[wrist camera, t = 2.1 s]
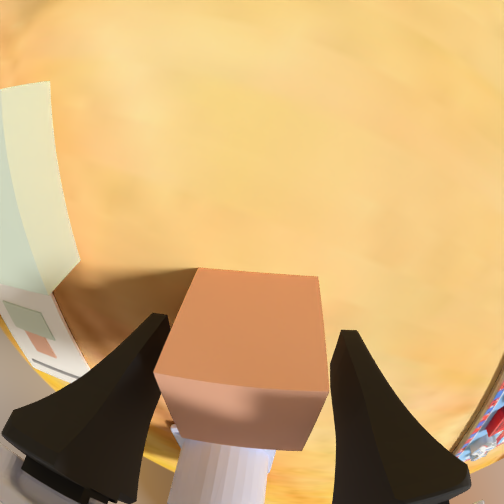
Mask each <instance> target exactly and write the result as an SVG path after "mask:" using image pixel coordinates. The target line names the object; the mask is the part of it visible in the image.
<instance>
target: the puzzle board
mask: <svg viewBox="0 0 504 504" xmlns="http://www.w3.org/2000/svg"><path fill="white" fill-rule="evenodd" d="M503 443H504V366H503V368H502V370H501V372H500V374H499V376H498V379H497V381H496V383H495V384H494V386H493V388H492V390H491V392H490V394H489V396H488V398H487V400H486V401H485V403H484V405H483V407H482V408H481V410H480V412H479V413H478V415H477V417H476V418H475V420H474V422H473V423H472V425H471V426H470V428H469V429H468V431H467V433H466V434H465V435H464V437H463V438H462V440H461V441H460V443H459V444H458V446H457V447H456V448H455V450H454V451H453V453H452V454H453V455H455V456H456V457H457V458H459V459H460V460H461V461H463V462H465V461H467V460H470V459H471V461H475V460H477V459H479V458H481V457H484V456H486V455H487V453H488V452H489V451H490V450H492V449H493V448H495V447H497V446H499V445H501V444H503Z"/></svg>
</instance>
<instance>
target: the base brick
mask: <svg viewBox="0 0 504 504" xmlns="http://www.w3.org/2000/svg"><path fill="white" fill-rule="evenodd" d="M80 261H81V260H80V257H79V254H78V250H77V247H76V243H75V240H74V236H73V232H72V228H71V225H70V221H69V216H68V212H67V208H66V204H65V199H64V194H63V189H62V184H61V179H60V173H59V167H58V161H57V155H56V148H55V140H54V131H53V122H52V110H51V94H50V81H44V82H37V83H31V84H25V85H19V86H14V87H9V88H4V89H0V284H4V285H7V286H11V287H15V288H19V289H23V290H27V291H31V292H35V293H39V294H43V295H48V296H49V295H50V294H51V293H52V292H53V290H54V289H55V288H56V287H57V286H58V285H59V284H60V282H61V281H62V280H63V279H64V278H65V277H66V276H67V275H68V274H69V273H70V271H71V270H72V269H73V268H74V267H75V266H76V265H77V264H78V263H79V262H80Z"/></svg>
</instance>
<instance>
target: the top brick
mask: <svg viewBox="0 0 504 504" xmlns="http://www.w3.org/2000/svg"><path fill="white" fill-rule="evenodd" d="M153 373H154V376H155V378H156V381H157V383H158V386H159V388H160V391H161V393H162V395H163V398H164V400H165V402H166V405H167V407H168V409H169V412H170V414H171V416H172V418H173V420H174V423H175V425H176V427H177V429H178V431H179V433H180V435H181V437H182V438H186V439H192V440H197V441H202V442H208V443H215V444H221V445H229V446H237V447H245V448H256V449H268V450H286V451H302V450H303V448H304V446H305V444H306V442H307V440H308V437H309V435H310V433H311V431H312V429H313V427H314V425H315V423H316V421H317V418H318V416H319V414H320V412H321V409H322V407H323V405H324V403H325V400H326V398H327V396H328V393H329V379H328V366H327V354H326V343H325V333H324V323H323V314H322V305H321V296H320V288H319V280H318V277H315V276H300V275H286V274H272V273H258V272H245V271H233V270H220V269H208V268H198V269H197V271H196V274H195V276H194V278H193V280H192V283H191V285H190V287H189V289H188V291H187V294H186V296H185V298H184V301H183V303H182V305H181V307H180V310H179V312H178V314H177V317H176V319H175V321H174V324H173V326H172V328H171V331H170V333H169V335H168V338H167V340H166V342H165V345H164V347H163V350H162V352H161V354H160V357H159V359H158V362H157V364H156V367H155V369H154V371H153Z"/></svg>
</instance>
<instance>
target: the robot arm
mask: <svg viewBox="0 0 504 504" xmlns="http://www.w3.org/2000/svg"><path fill="white" fill-rule="evenodd" d="M170 331H171V329H170V325H169V321H168V316H167V315H164V314H157V313H152V314H151V315H150V316H149V317H148V318H147V319H146V320H145V321H144V322H143V323H142V324H141V325H140V326H139V327H138V328H137V329H136V330H135V331H134V332H133V333H132V334H131V335H130V336H129V337H128V338H126V339H125V340H124V341H123V342H122V343H121V344H120V345H119V346H118V347H117V348H116V349H115V350H114V351H112V352H111V353H110V354H109V355H108V356H107V357H105V358H104V359H103V360H102V361H101V362H100V363H98V364H97V365H96V366H95V367H93V368H92V369H91V370H90V371H88V372H87V373H85V374H84V375H83V376H81V377H80V378H78V379H77V380H75V381H74V382H72V383H70V384H69V385H67V386H65V387H64V388H62V389H61V390H59V391H57V392H55V393H53V394H51V395H50V396H48V397H45V398H43V399H41V400H39V401H37V402H34V403H32V404H29V405H26V406H24V407H21V408H18V409H15V410H13V412H12V414H11V416H10V417H9V419H8V421H7V423H6V425H5V427H4V429H3V431H2V436H3V437H4V438H5V439H6V440H7V441H8V442H10V443H11V444H12V445H13V446H15V447H16V448H17V449H19V450H20V451H21V452H23V453H24V454H25V455H26V458H25V460H23V459H22V458H21V457H19V456H18V455H17V454H15V453H14V452H12V451H11V450H10V449H8V448H7V447H6V446H4V445H3V444H1V443H0V501H1V502H2V503H3V504H107V503H108V501H111V502H113V503H117V501H118V500H119V501H121V502H124V503H127V504H131V503H134V502H136V501H137V500H136V499H137V490H138V479H139V473H140V467H141V461H142V456H143V451H144V446H145V441H146V437H147V433H148V429H149V425H150V422H151V419H152V416H153V413H154V410H155V408H156V405H157V403H158V400H159V398H160V395H161V391H160V388H159V386H158V383H157V381H156V378H155V376H154V373H153V371H154V369H155V367H156V364H157V362H158V359H159V357H160V354H161V352H162V350H163V347H164V345H165V342H166V340H167V338H168V335H169V333H170ZM330 388H331V396H332V405H333V414H334V423H335V432H336V466H335V482H334V492H333V501H332V504H449V499H451V498H453V497H455V496H457V495H459V494H461V493H463V492H465V491H467V490H468V489H470V487H471V479H470V473H469V469H468V466H467V464H466V463H464V462H463V461H461V460H460V459H459V458H457V457H456V456H455V455H453V454H452V453H450V452H449V451H448V450H447V449H446V448H444V447H443V446H442V445H441V444H440V443H439V442H437V441H436V440H435V439H434V438H433V437H432V436H431V435H430V434H429V433H428V432H427V431H426V430H425V429H424V428H423V427H422V426H421V425H420V423H419V422H418V421H417V420H416V419H415V418H414V417H413V415H412V414H411V413H410V412H409V411H408V409H407V408H406V407H405V406H404V404H403V403H402V402H401V401H400V399H399V398H398V396H397V395H396V394H395V392H394V391H393V389H392V388H391V386H390V385H389V383H388V382H387V380H386V379H385V377H384V376H383V374H382V373H381V371H380V369H379V368H378V366H377V364H376V363H375V361H374V359H373V358H372V356H371V354H370V353H369V351H368V349H367V347H366V345H365V344H364V342H363V340H362V338H361V336H360V335H359V333H358V331H357V330H341V332H340V335H339V338H338V342H337V345H336V348H335V351H334V354H333V357H332V360H331V363H330ZM170 429H171V431H172V433H173V435H174V437H175V439H176V440H177V442H178V444H179V446H180V448H181V451H180V455H179V459H178V463H177V467H176V471H175V474H174V478H173V482H172V486H171V490H170V494H169V498H168V502H167V504H264V501H265V492H266V483H267V473H269V472H270V469H271V466H272V463H273V459H274V456H275V452H276V450H268V449H256V448H245V447H237V446H229V445H221V444H215V443H208V442H202V441H197V440H192V439H186V438H182V437H181V435H180V433H179V431H178V429H177V427H176V425H175V424H172V425H171V428H170ZM473 504H484V500H480V501H478V502H476V503H473Z"/></svg>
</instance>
